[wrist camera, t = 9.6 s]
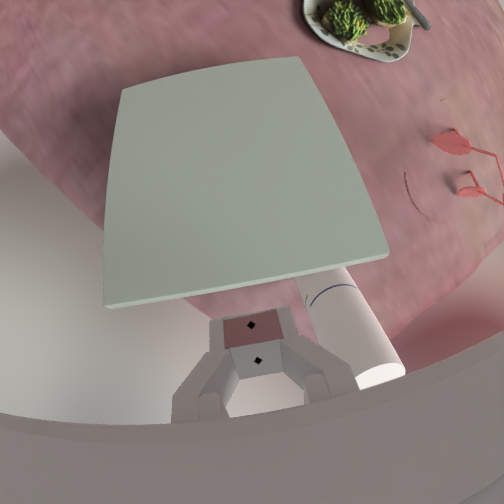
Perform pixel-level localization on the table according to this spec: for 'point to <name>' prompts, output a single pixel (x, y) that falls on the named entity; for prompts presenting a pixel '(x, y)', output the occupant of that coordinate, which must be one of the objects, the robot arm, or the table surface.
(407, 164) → the table surface
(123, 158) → the lid
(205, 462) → the robot arm
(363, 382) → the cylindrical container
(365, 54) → the salad plate
